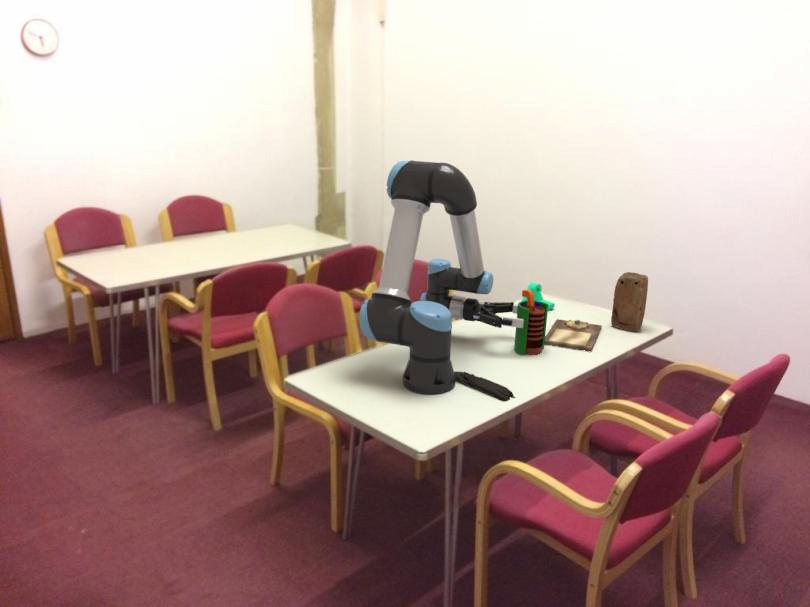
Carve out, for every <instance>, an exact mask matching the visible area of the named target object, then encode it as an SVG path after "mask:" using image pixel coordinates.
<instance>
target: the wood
mask: <svg viewBox="0 0 810 607" xmlns="http://www.w3.org/2000/svg"><path fill="white" fill-rule="evenodd" d="M454 373H455V377H456V379H458V381H461V383H463V384H464V385H465V386H467V387H469V388H472V389H475V390H478V391H479V392H482V393H484V394H486V395H489V396H491V397H493V398H496V399H497V400H500V401H502V402H508V401H509V400H511V398H512V399H516V398H517V397H515V396H514V393H513V391H511V390H510V389H509V388H508V387H506V386H504V385H502V384H499V383H496V382H494V381H492V380H489V379H487V378H484V377H481V376H476V375H475V374H473V373H470V372H466V371H454ZM510 397H511V398H510Z"/></svg>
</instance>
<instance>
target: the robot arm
mask: <svg viewBox="0 0 810 607" xmlns="http://www.w3.org/2000/svg"><path fill="white" fill-rule="evenodd" d="M386 187H387V188H386V193H387V196H388V197H389V198H390V199H391V200H390V204H391V206H392V207H393V208H394V211H393V216H392V221H391V226H390V230H389V236H388V240H387V243H386V244H387V245H386V250H385V253H384V254H385V255H384V261H383V264H382V270H381V274H380V279H379V283H378V284H379V285H378V287H377V289H375V290H374V291H372V292H371V297H370V298H368V299H365V300H364V301H363V302H362V305H361V306H360V310H359V311H360V312H359V327H360V330H361V332H362V335H363V336H364V337H365V338H367V339H368V340H372V341H376V342H379V343H386V344H392V345H397V346H403V347H408V348H409V355H408V356H409V357H408V361H407V363H406V366H405V369H404V372H403V375H402V384H403V386H404V387H405V388H406V389H407V390H409V391H411V392H415V393H418V394H423V395H424V394H425V395H437V394H442V393H448V392H449V391H450V392H451V390H453V389H454V388H455V387H456V382H457V381H456V380H457V377H455V373H454V372H455V370H454V367H453V364H452V360H451V351H452V350H451V347H452V329H453V323H452V319H454V320H455V321H458V320H461V321H462V320H464V321H468V322H475V321H477V322H480V323H483V324H485V325H489V326H492V327H494V328H499V329H501V328H502V327H512V328H516V327H518V328H523V322H524V319H517V317H516V318H515V317H509V316H503V317H501V316H500V315H497V314H503V313H512V314H516V315H517V309H518V304H515V301H511V302H506V301H505V302H504V301H503V302H489V301H488V302H487V301H484V303H483V304H480V303H479V300H478V299H477V298H471V297H470V298H469V297H468V298H466V296H465V297H462V296H456V295H450V291H454V292H455V291H458V292H465V293H470V294H474V295H489V294H490V293H491V291H492V289H493V286H494V275H493V273H492V272H490V271H488V270H487V271H486V270H485V268H484V262H483V255H482V254H483V253H482V249H481V242H480V235H479V229H478V222H477V218H476V212H475V210H476V209H477V206H478V202H477V197H476V193H475V190H474V188H473V186H472V184H471V182H470V180H469V179H468V178H467V176H466V175H465V174H464V173H463V172H462V171H461V170H460V169H459V168H457V167H456V166H455V165H452V164H450V163H447V162H433V161H432V162H431V161H420V160H419V161H418V160H414V159H413V160H400V161H398V162H397V163H395V164H394V165H393V166H392V168H391V169H390V171H389V174H388V176H387V181H386ZM432 204H441V205H443V207H444V211H445V212H446V214H448V215H449V219H450V224H451V230H452V233H453V239H454V243H455V248H456V254H457V258H458V259H457V260H458V263H459V267H452V265H451V261H450V260H448V259H445V258H435V259H434V258H433V259H431V260H429V262H428V263H427V264H428V265H427V266H428V267H427V273H426V275H427V278H426V280H427V286H426V292H423V293H422V294H420V295H421V296H420V299H419V300H418V301H413V302H412V299H411V298H410V296H409V293H408V292H409V288H410V283H411V282H410V281H411V278H412V274H413V268H414V262H415V257H416V254H417V253H416V252H417V249H418V243H419V239H420V238H419V237H420V233H421V228H422V223H423V218H424V215H425V214H426V213H428V212H430V209H431V206H432Z"/></svg>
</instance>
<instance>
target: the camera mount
mask: <svg viewBox="0 0 810 607" xmlns="http://www.w3.org/2000/svg"><path fill="white" fill-rule="evenodd" d="M542 288H543V287H542V285H541V284H540V283H539V284H538V283H536V282H531V283H529V284H528V285H527V288H526V290H531V291H532V292H533V296H534V301H540V302H544V303H547V304H548V312H550V309H554V308H555V304H556V303H555V302H552V301H548V300H546V299H544V297H543V295H542ZM521 301H527V298H526V297H522V299H521Z"/></svg>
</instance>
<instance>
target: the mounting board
mask: <svg viewBox="0 0 810 607" xmlns="http://www.w3.org/2000/svg"><path fill="white" fill-rule="evenodd" d="M602 327H603V326H602V325H601V324H594V323H588V321H582V320H580V319H576V320H573V319H572V320H571V319H569V320H565V319H558V318H556V320H554V323H553V325H552V326H551V327H550V329H549V330H548V332H547V334H545V343H544V346H550V345H552V346H551V347H556V346H558V347H557V348H563V347H564V349H569V348H572V349H571V350H576V349H578V351H582V350H585V351H584V352H589V351H591V350H593V348H594V346H595V344H596V342H597V340H596V339H598V337H599V335H600V333H599V332H601V331H600V330H602ZM591 352H592V351H591Z"/></svg>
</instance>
